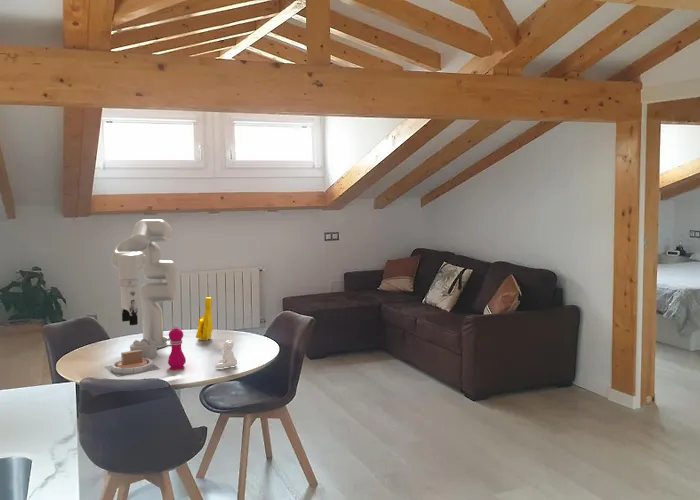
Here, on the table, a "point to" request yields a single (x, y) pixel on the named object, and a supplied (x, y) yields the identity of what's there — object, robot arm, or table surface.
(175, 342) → the pepper mill
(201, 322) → the figure statuette
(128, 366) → the cover
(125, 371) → the base plate
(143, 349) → the lumpy-topped squat cylinder
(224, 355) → the seated beast figurine
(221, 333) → the table surface
